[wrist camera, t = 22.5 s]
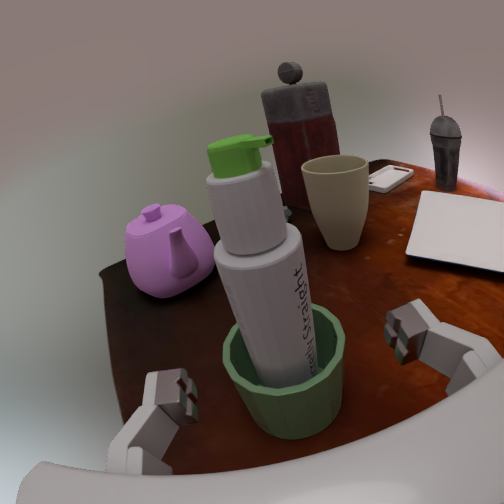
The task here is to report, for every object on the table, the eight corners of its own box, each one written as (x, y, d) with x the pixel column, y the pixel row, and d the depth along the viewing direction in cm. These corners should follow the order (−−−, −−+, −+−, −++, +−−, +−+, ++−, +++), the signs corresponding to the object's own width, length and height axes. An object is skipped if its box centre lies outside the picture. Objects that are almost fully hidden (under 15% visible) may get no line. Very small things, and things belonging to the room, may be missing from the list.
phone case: (385, 194, 52) (414, 174, 58) (385, 187, 51) (414, 169, 57) (356, 187, 57) (389, 169, 63) (356, 181, 56) (389, 164, 62)
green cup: (359, 382, 21) (365, 321, 17) (305, 456, 17) (295, 418, 13) (287, 350, 27) (273, 288, 23) (231, 408, 22) (199, 356, 18)
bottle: (290, 428, 19) (206, 158, 9) (258, 396, 22) (167, 155, 12) (331, 395, 20) (303, 127, 10) (297, 367, 24) (245, 129, 14)
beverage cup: (466, 188, 46) (464, 96, 36) (451, 196, 45) (449, 96, 35) (441, 179, 53) (436, 93, 43) (424, 186, 51) (419, 93, 41)
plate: (548, 293, 19) (553, 280, 18) (404, 266, 33) (405, 252, 32) (522, 216, 33) (523, 206, 32) (421, 199, 46) (422, 189, 45)
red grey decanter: (349, 191, 56) (328, 58, 42) (317, 212, 51) (288, 58, 37) (317, 185, 63) (294, 65, 49) (283, 204, 57) (253, 68, 43)
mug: (389, 243, 37) (387, 162, 31) (330, 266, 36) (320, 178, 30) (350, 216, 47) (343, 148, 41) (298, 233, 46) (285, 161, 40)
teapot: (128, 274, 47) (101, 216, 41) (191, 241, 53) (170, 182, 47) (165, 336, 32) (121, 254, 26) (253, 282, 37) (230, 199, 32)
